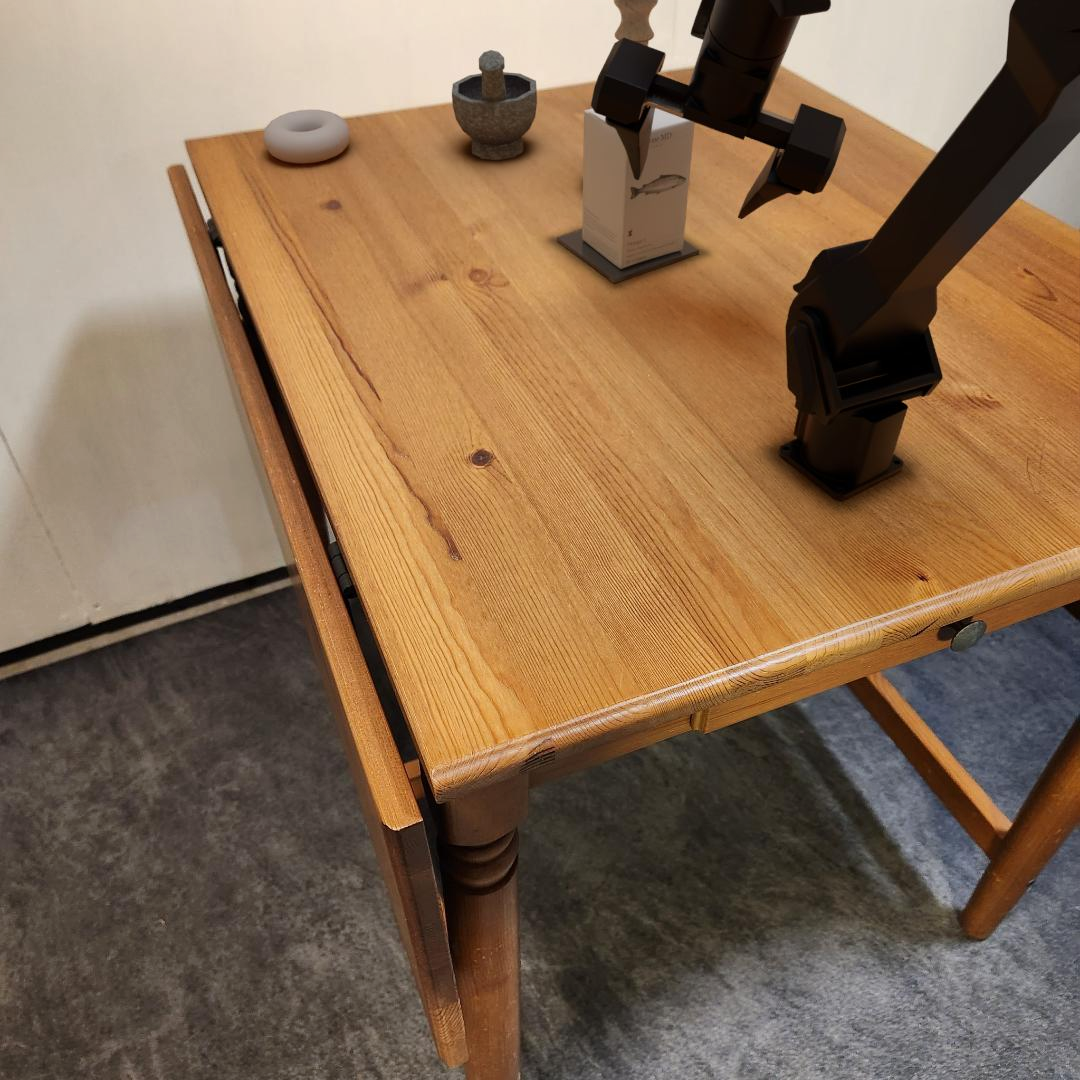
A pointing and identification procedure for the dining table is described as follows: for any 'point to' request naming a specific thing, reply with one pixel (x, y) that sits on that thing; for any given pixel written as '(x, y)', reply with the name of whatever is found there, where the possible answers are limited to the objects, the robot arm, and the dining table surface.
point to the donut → (306, 136)
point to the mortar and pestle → (495, 108)
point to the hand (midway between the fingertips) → (689, 195)
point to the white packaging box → (635, 190)
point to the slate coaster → (613, 272)
